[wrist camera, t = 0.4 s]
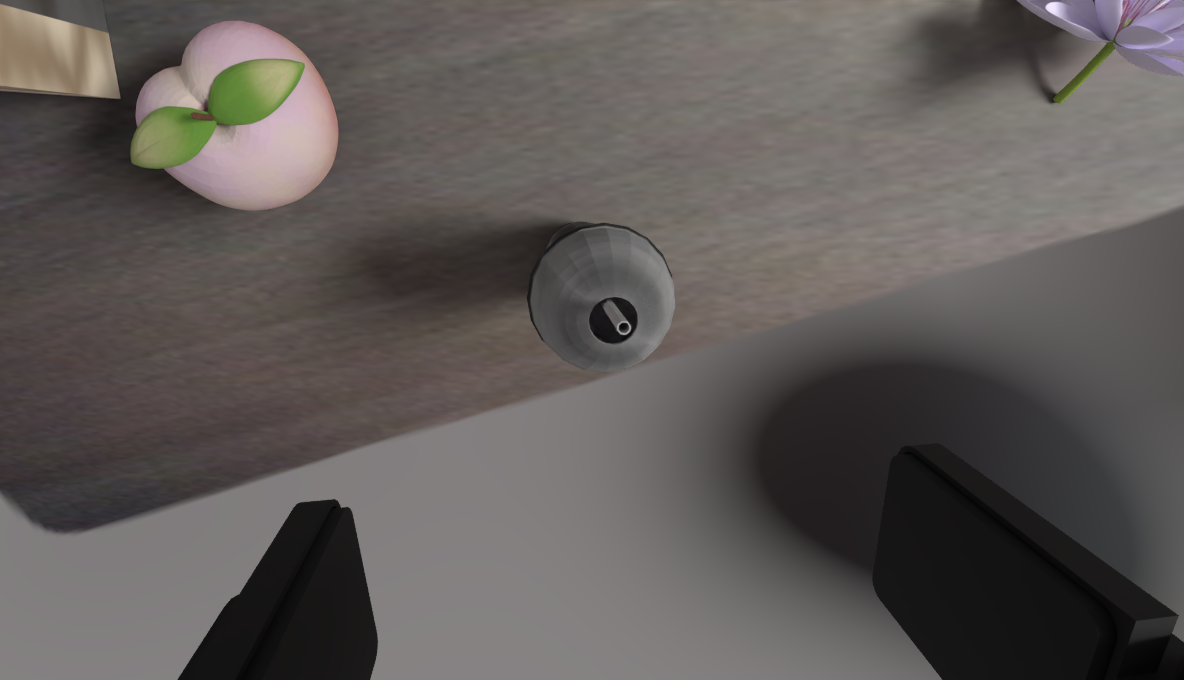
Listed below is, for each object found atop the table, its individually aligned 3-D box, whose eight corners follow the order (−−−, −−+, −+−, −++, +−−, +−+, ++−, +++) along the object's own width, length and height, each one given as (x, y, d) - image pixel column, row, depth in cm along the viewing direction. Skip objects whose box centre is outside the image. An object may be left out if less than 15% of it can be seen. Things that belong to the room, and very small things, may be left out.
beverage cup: (545, 320, 40) (565, 475, 21) (511, 219, 38) (499, 294, 19) (643, 288, 40) (750, 415, 21) (616, 186, 38) (709, 228, 19)
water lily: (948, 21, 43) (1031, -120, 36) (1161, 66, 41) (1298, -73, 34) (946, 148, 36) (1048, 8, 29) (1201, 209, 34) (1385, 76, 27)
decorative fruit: (284, 230, 36) (201, 261, 27) (175, 120, 34) (41, 111, 24) (395, 135, 35) (349, 131, 26) (292, 13, 33) (199, -40, 23)
